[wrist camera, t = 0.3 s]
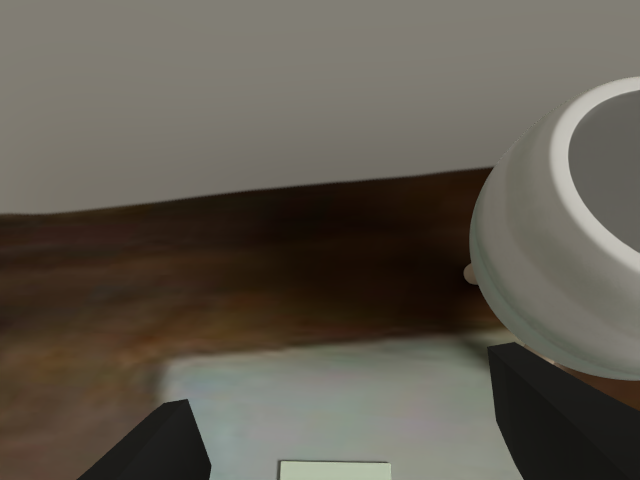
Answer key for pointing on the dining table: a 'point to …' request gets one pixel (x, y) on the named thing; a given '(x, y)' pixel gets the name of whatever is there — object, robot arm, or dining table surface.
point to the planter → (568, 234)
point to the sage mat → (334, 471)
